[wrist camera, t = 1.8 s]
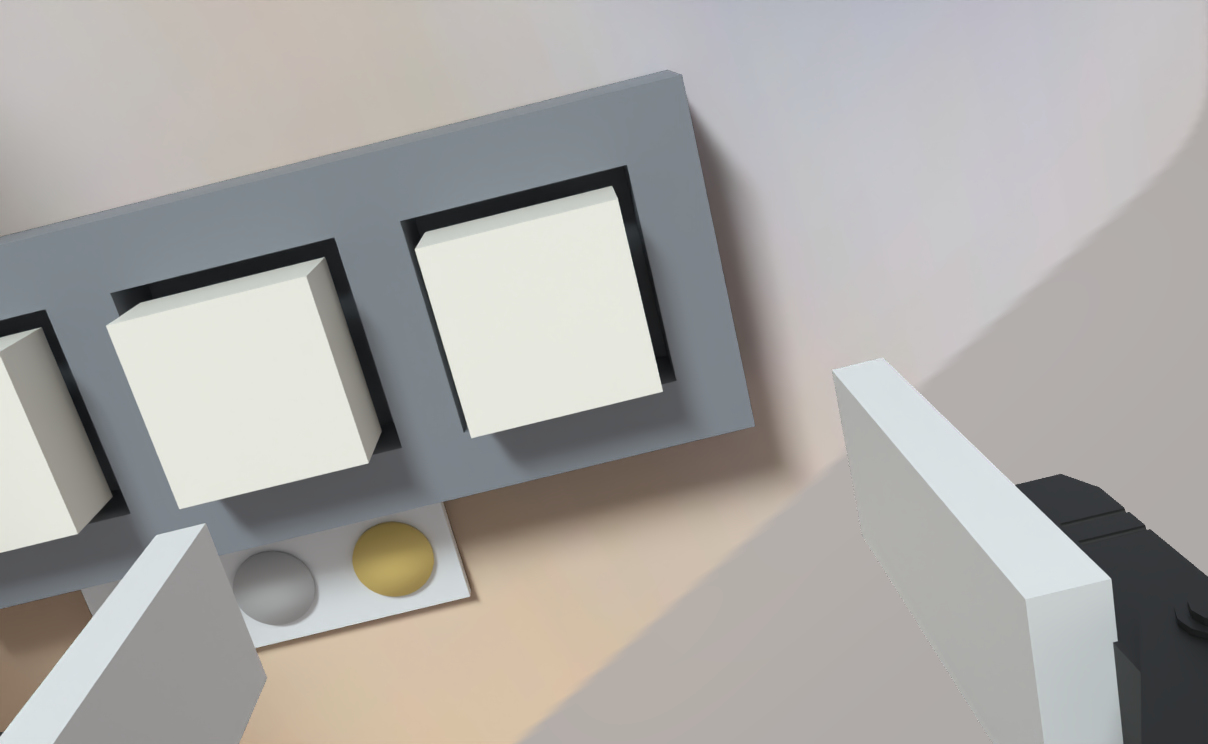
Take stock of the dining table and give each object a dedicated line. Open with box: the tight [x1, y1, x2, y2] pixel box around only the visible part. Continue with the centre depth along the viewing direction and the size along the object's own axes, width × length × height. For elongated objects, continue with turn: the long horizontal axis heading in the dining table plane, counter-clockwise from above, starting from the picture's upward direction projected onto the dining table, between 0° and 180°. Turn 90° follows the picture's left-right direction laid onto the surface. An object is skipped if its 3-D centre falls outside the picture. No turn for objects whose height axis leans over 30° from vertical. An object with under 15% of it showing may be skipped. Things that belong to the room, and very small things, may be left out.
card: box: [81, 502, 471, 648], centre depth 35 cm, size 12×4×1 cm, turn 103°
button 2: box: [106, 257, 382, 509], centre depth 29 cm, size 5×5×2 cm
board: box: [0, 70, 755, 609], centre depth 31 cm, size 26×10×4 cm, turn 103°
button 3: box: [415, 186, 663, 438], centre depth 28 cm, size 5×5×2 cm
